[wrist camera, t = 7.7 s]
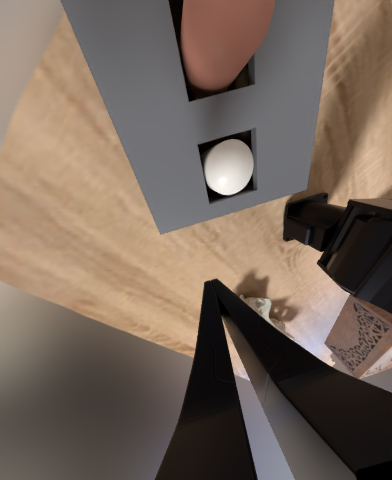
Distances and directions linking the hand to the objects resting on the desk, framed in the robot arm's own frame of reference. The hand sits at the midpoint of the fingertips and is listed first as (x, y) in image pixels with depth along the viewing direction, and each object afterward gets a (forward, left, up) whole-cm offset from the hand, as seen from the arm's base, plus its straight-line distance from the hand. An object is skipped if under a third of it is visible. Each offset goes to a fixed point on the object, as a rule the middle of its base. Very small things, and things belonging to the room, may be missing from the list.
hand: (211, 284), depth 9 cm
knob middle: (-5, -13, -9) cm, 16 cm away
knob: (-5, -6, -11) cm, 13 cm away
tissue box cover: (-42, +46, -12) cm, 63 cm away
